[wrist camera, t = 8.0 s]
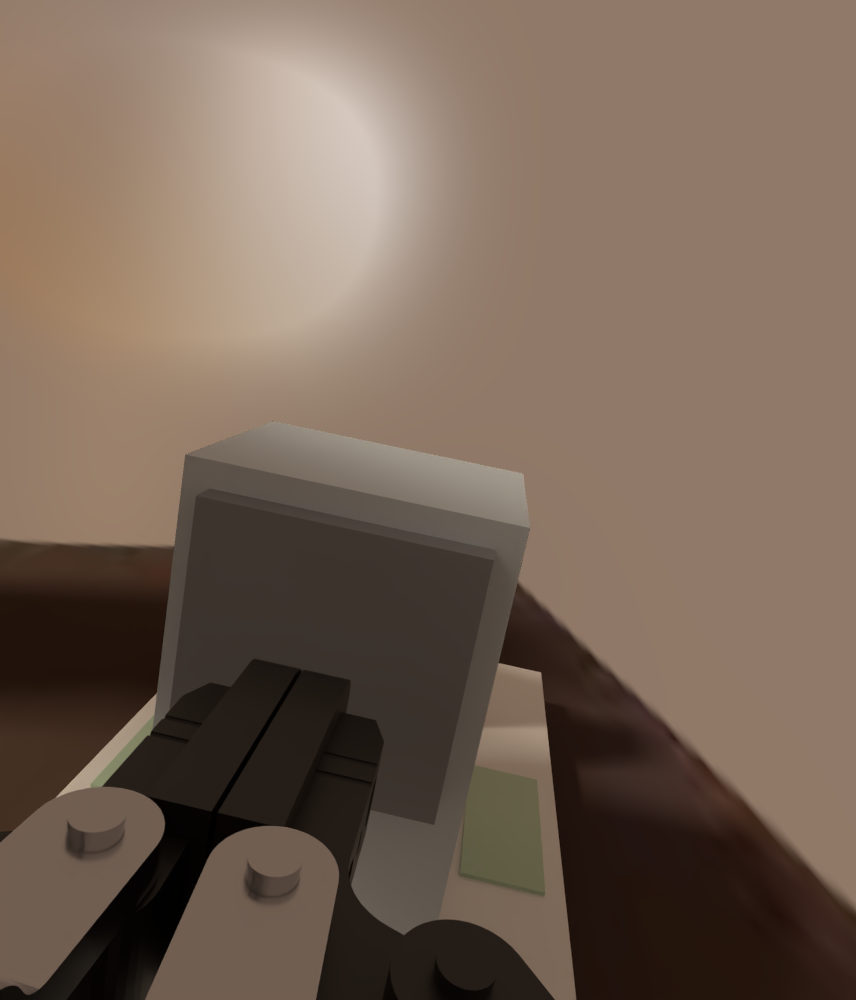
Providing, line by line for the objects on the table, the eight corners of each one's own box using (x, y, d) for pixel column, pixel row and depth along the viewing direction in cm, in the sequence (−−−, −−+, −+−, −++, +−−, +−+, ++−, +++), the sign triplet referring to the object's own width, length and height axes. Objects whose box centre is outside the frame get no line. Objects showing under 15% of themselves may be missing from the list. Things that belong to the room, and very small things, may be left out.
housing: (607, 1716, 8) (646, 1623, 8) (-433, 1406, 9) (-445, 1307, 8) (532, 707, 29) (541, 670, 29) (236, 640, 30) (241, 603, 30)
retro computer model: (424, 990, 14) (531, 537, 12) (117, 914, 14) (169, 460, 12) (446, 807, 19) (522, 473, 17) (223, 755, 20) (272, 421, 18)
